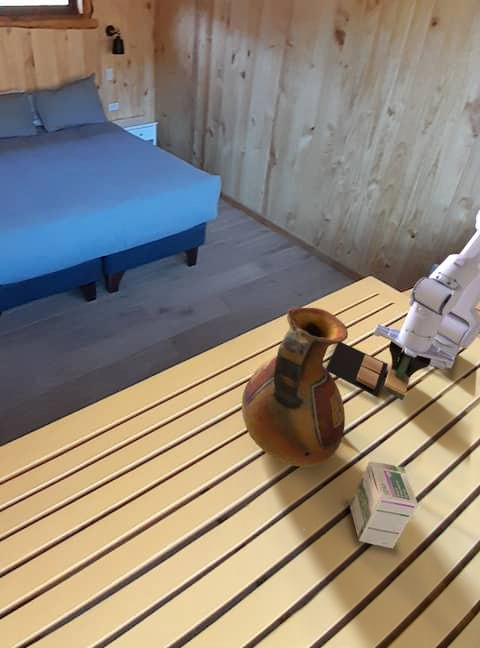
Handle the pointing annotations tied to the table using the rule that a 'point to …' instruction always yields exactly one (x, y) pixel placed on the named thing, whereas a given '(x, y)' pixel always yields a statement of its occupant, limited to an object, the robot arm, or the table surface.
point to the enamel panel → (352, 367)
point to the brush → (398, 376)
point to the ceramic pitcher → (298, 393)
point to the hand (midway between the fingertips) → (400, 370)
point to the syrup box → (382, 504)
